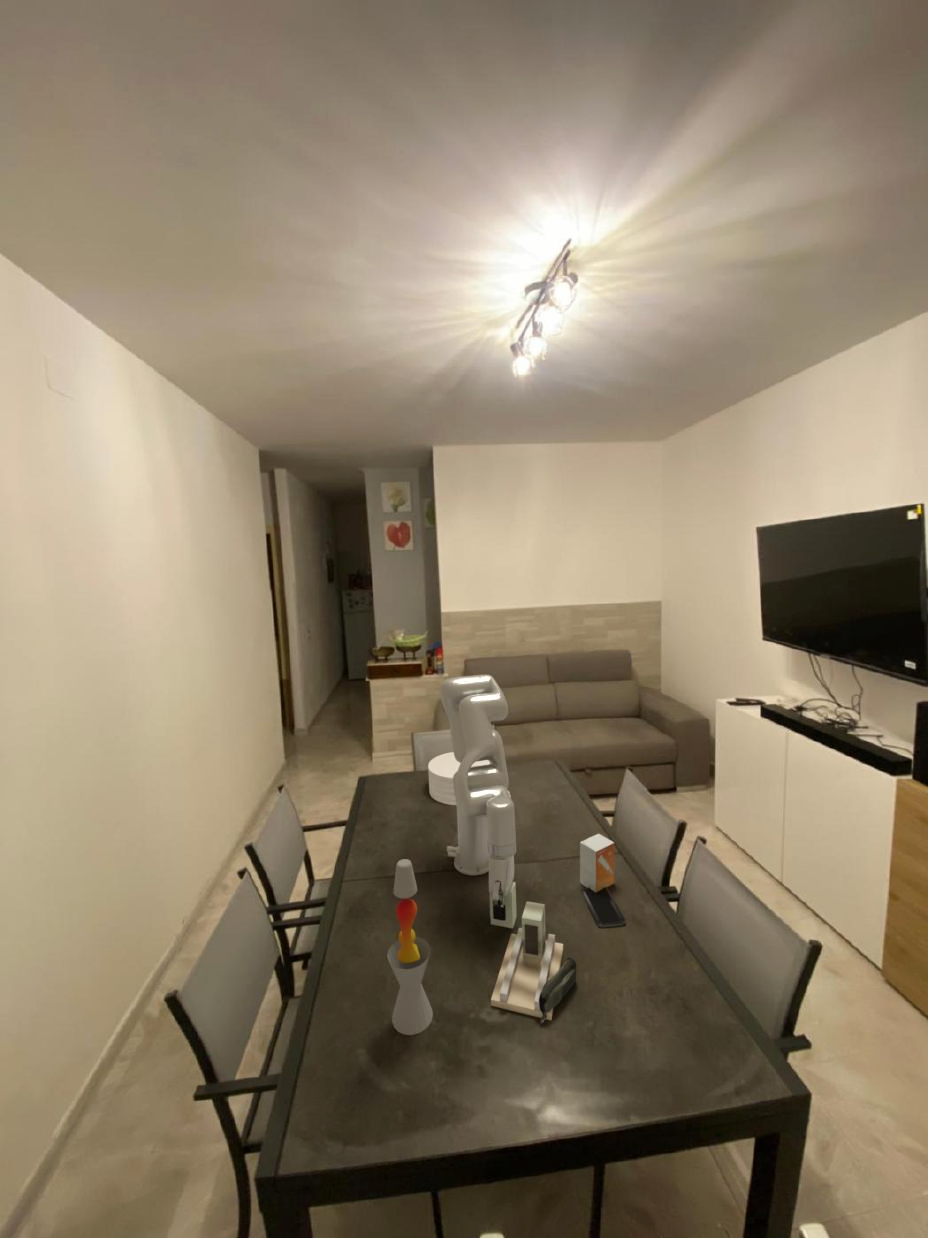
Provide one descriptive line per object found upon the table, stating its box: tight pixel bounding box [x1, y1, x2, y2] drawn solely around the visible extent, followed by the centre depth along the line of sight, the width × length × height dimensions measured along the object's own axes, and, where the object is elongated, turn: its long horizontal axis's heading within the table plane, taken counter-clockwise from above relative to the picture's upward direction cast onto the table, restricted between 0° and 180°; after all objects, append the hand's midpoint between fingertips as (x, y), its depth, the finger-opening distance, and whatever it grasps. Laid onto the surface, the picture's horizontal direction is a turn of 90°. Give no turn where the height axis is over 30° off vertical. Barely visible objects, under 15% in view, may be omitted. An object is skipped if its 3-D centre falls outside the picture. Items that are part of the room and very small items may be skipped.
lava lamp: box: [386, 858, 434, 1036], centre depth 105 cm, size 9×9×35 cm
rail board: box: [490, 901, 564, 1021], centre depth 116 cm, size 20×13×12 cm, turn 162°
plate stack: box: [427, 751, 490, 806], centre depth 212 cm, size 28×28×12 cm
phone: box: [580, 887, 627, 929], centre depth 138 cm, size 8×1×15 cm
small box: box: [579, 833, 615, 892], centre depth 147 cm, size 8×6×13 cm
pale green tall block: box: [488, 881, 518, 929], centre depth 134 cm, size 4×6×10 cm
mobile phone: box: [539, 957, 577, 1024], centre depth 110 cm, size 5×3×15 cm
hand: (504, 907), depth 134 cm, fingers open, 9 cm apart
